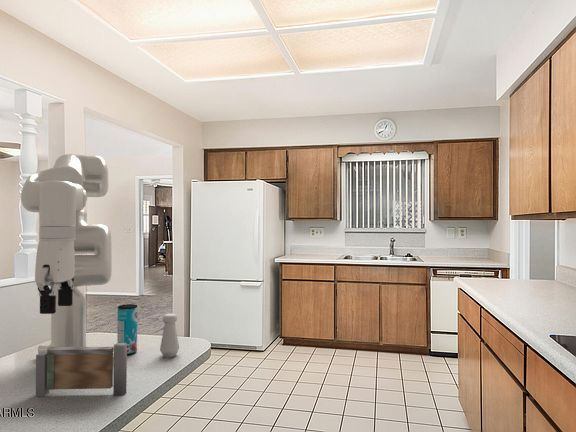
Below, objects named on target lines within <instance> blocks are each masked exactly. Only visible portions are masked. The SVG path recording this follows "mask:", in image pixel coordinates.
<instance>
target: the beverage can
mask: <svg viewBox="0 0 576 432" xmlns="http://www.w3.org/2000/svg"><path fill="white" fill-rule="evenodd" d="M116 327H117V331H116V332H117V333H116V334H117V336H116V337H117V343H127V356H131V355H134V354H136V353H137V351H138V305H137V304H133V303H129V304H128V303H127V304H121V305H119V306H117V326H116ZM117 343H116V344H117Z"/></svg>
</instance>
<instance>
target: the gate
mask: <svg viewBox="0 0 576 432" xmlns="http://www.w3.org/2000/svg"><path fill="white" fill-rule="evenodd" d="M113 381H114V346H86V347H51V348H50V349H48V350H47V390H49V391H54V390H97V389H99V390H103V389H104V390H105V389H106V390H107V389H108V390H109V389H112V388H113Z"/></svg>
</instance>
